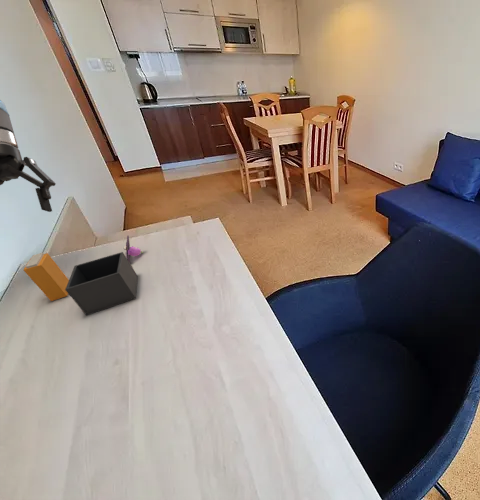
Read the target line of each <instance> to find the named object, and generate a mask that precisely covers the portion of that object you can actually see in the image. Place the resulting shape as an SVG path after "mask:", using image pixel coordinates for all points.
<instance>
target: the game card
mask: <svg viewBox="0 0 480 500" xmlns="http://www.w3.org/2000/svg"><path fill="white" fill-rule="evenodd" d="M123 251H126V252H124V255H125V256H126V258H127V260H128V261H129V262H130V259H131V256H132V257H138V256H139V255H140V254H143V253H144V251H141V249H140V248H139V247H136V246H133V245H132V246H131V245H130V236H129V235H127V236H126V242H125V245H124V246H123Z"/></svg>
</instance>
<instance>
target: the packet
mask: <svg viewBox="0 0 480 500" xmlns="http://www.w3.org/2000/svg"><path fill="white" fill-rule="evenodd" d="M23 272H24V273H25V274H26V275H27V276H28V277H29V278H30V280H31V281H33V283H34V284H35V285H36V286H37V288H39V290H40V291H41V292H42V294H44V295H45V296H46V297H47V299H48V300H49V301H50V302H52V301H57V300H60V299H62V298H65V297H68V295H69V294H68V292H67V291H66V290H65V289H66V287H67V284H68V281H69V279H70V278H69V277H67V276H66V274H65V273H64V271H63V270H62V269H61V267H60V266H59V265H58V264H57V263H56V262H55V260H54V259H53V257H51V254H49V253H44V252H40V253H36V254H33V255H32V256H31V257H30V258H29V260H28V261H27V263H26V264H25V266H24V268H23Z"/></svg>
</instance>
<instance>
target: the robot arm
mask: <svg viewBox="0 0 480 500" xmlns="http://www.w3.org/2000/svg"><path fill="white" fill-rule="evenodd" d="M25 166H26V167H27V168H28V169H30V171H31V172H32V173H34V174H35V175H36V176H37V178H38V179H40V180H41V181H40V180H38V179H37V178H35V177H33V176H31V175H30V174H28V173H26V172H25V171H24V169H25ZM19 177H20V178H21V179H24V180H25V181H28V182H29V183H31V184H33V185H34V186H36V188H35V193H36V196H37V199H38V202H39V205H40V209H41V211H45V212H49V213H52V212H53V208H52V204H51V203H50V200H51V199H52V195H51V192H50V188H51V187H55V186H56V184H57V183H56V182H55V181H54V180H53V179H52V178H51V177H50V176H49V175H47V173H46V172H44V171H43V170H42V169H41V168H40V167H39V166H38V164H37V161H36V160H34V159H33V158H30V157H28V156H24V157H22V154H21V151H20V150H19V145H18V141H17V138H16V135H15V132H14V128H13V125H12V120H11V118H10V114H9V111H8V109H7V107H6V105H5V103H4V102H3V101H2V100H1V99H0V186H2V185H3V184H4V183H5V182H10V181H13V180H17V179H19Z"/></svg>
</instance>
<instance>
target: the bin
mask: <svg viewBox="0 0 480 500" xmlns="http://www.w3.org/2000/svg"><path fill="white" fill-rule="evenodd" d="M68 279H69V281H68V284H67V287H66V289H65V290H66V291H67V292H68V295H69V297H70V298H71V299H72V300H73V301H74V302H75V303H76V305H77V306H78V307H79V308H80V310H81V311H82V312H83V313H84V314H85V316H89V315H91V314H94V313H97V312H100V311H103V310H107V309H109V308H112V307H115V306H118V305H121V304H123V303H124V304H125V303H127V302H129V301H133V300H135V299H137V289H138V274H137V272H136V270H135V269H134V268H133V266H132V265H131V263H130V261H128V260H127V258H126V255H125V252H123V251H121V252H117V253H114V254H111V255H106V256H104V257H100V258H96V259H94V260H89V261H86V262H83V263H80V264H76V265H74V266H73V269H72V272H71V274H70V276H69V278H68Z"/></svg>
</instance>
